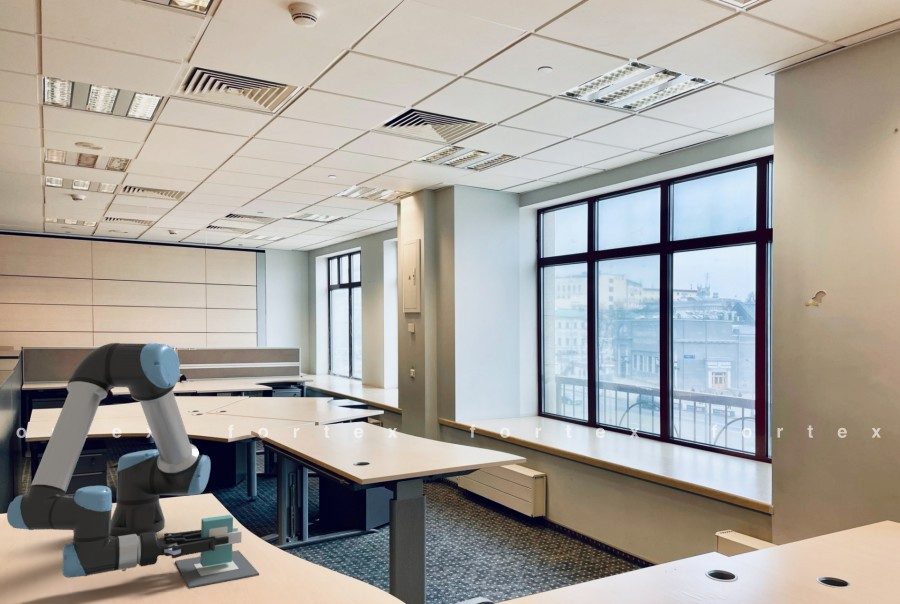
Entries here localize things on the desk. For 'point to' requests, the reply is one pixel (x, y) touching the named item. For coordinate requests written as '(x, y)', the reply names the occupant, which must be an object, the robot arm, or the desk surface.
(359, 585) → the desk surface
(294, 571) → the desk surface
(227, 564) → the mat
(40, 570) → the desk surface
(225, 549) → the tall teal rectangular block
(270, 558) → the desk surface
